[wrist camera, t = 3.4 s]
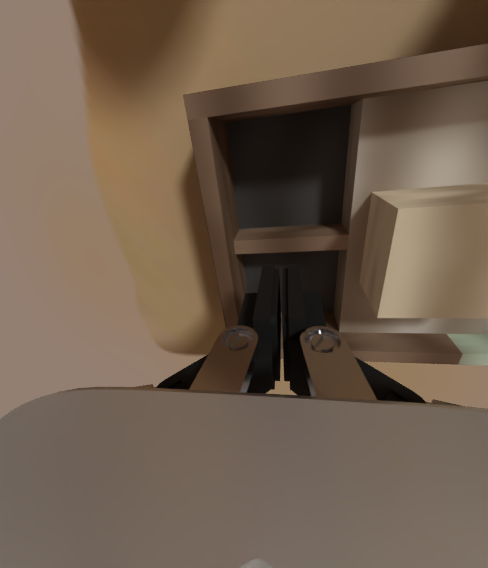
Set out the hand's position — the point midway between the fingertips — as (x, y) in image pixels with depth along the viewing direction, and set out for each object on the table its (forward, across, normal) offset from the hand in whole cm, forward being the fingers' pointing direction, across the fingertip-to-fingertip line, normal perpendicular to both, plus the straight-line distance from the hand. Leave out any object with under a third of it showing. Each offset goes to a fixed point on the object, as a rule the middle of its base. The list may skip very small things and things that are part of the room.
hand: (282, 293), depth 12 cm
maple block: (+6, -9, 0) cm, 10 cm away
